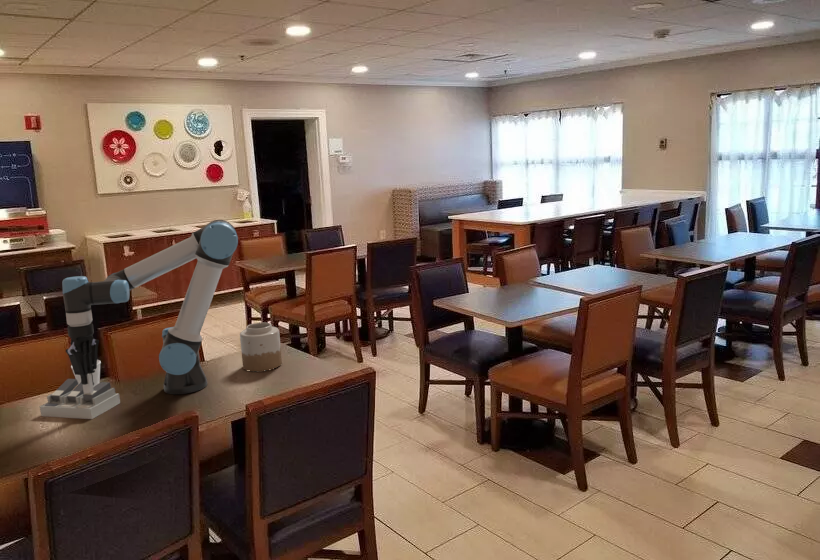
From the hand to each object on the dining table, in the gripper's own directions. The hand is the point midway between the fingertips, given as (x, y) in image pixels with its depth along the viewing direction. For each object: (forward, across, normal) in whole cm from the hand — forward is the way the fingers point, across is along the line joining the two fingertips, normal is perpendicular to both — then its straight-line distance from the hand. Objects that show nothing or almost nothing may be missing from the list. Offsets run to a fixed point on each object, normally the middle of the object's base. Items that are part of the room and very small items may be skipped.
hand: (88, 392), depth 214 cm
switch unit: (+7, -3, -6) cm, 10 cm away
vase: (+6, -53, +37) cm, 65 cm away
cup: (+7, -18, -15) cm, 25 cm away
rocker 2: (+1, -4, -6) cm, 7 cm away
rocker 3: (+1, -4, 0) cm, 4 cm away
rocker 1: (+1, -4, -13) cm, 13 cm away
